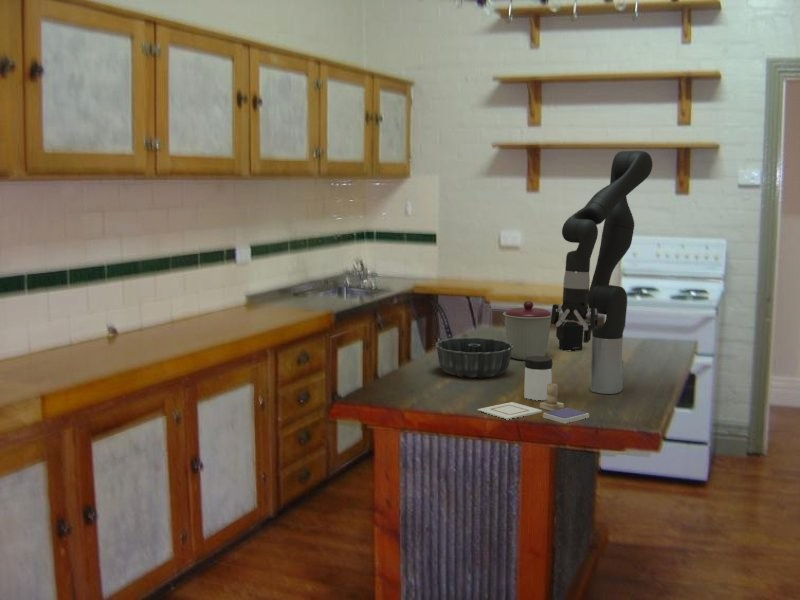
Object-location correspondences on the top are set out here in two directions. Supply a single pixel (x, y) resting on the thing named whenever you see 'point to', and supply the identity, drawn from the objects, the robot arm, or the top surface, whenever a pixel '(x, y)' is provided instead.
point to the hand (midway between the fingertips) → (572, 340)
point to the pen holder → (572, 336)
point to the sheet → (510, 410)
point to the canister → (527, 330)
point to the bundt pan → (474, 356)
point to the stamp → (551, 399)
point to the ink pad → (565, 415)
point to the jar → (537, 377)
